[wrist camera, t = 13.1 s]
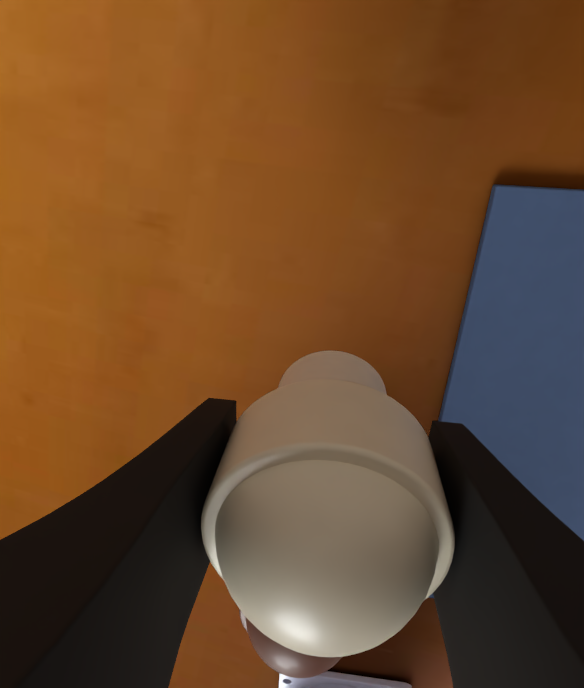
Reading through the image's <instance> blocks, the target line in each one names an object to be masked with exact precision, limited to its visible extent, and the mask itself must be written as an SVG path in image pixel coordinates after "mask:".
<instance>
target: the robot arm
mask: <svg viewBox="0 0 584 688" xmlns="http://www.w3.org/2000/svg"><path fill="white" fill-rule="evenodd" d="M235 424H236V401H234V400H224V399H214V398H208V399H207V400H206V401H204V402H203V403H202V404H201V405H199V406H198V407H197V408H196V409H195V410H193V411H192V412H191V413H190V414H189V415H187V416H186V417H185V418H184V419H183V420H181V421H180V422H179V423H178V424H177V425H175V426H174V427H173V428H172V429H171V430H169V431H168V432H167V433H166V434H164V435H163V436H162V437H161V438H159V439H158V440H157V441H156V442H154V443H153V444H152V445H150V446H149V447H148V448H147V449H145V450H144V451H143V452H142V453H140V454H139V455H138V456H136V457H135V458H133V459H132V460H131V461H129V462H128V463H127V464H125V465H124V466H122V467H121V468H120V469H118V470H117V471H115V472H114V473H113V474H111V475H110V476H108V477H107V478H106V479H104V480H103V481H101V482H100V483H98V484H97V485H95V486H94V487H92V488H91V489H89V490H87V491H86V492H84V493H83V494H81V495H80V496H78V497H76V498H75V499H73V500H71V501H70V502H68V503H66V504H65V505H63V506H61V507H60V508H58V509H56V510H55V511H53V512H51V513H50V514H48V515H46V516H44V517H43V518H41V519H39V520H37V521H35V522H34V523H32V524H30V525H28V526H26V527H24V528H22V529H20V530H18V531H16V532H15V533H13V534H11V535H9V536H7V537H5V538H3V539H1V540H0V688H168V686H169V683H170V679H171V675H172V672H173V668H174V665H175V661H176V657H177V654H178V650H179V646H180V643H181V640H182V637H183V634H184V631H185V628H186V625H187V622H188V619H189V616H190V613H191V611H192V608H193V605H194V603H195V600H196V597H197V595H198V592H199V589H200V587H201V584H202V581H203V579H204V576H205V573H206V571H207V568H208V565H209V562H210V559H209V557H208V555H207V553H206V550H205V547H204V544H203V539H202V532H201V515H202V510H203V506H204V503H205V500H206V497H207V495H208V492H209V489H210V487H211V484H212V482H213V479H214V476H215V474H216V471H217V468H218V466H219V463H220V461H221V458H222V455H223V453H224V450H225V448H226V445H227V442H228V440H229V437H230V435H231V432H232V430H233V427H234V426H235ZM428 439H429V441H430V444H431V447H432V450H433V453H434V457H435V461H436V464H437V468H438V471H439V475H440V478H441V482H442V486H443V489H444V493H445V496H446V500H447V504H448V507H449V511H450V514H451V518H452V521H453V527H454V532H455V549H454V554H453V559H452V563H451V565H450V568H449V570H448V573H447V575H446V576H445V578H444V580H443V581H442V583H441V584H440V585H439V586H438V588H437V589H436V590H435V591H434V592H433V596H434V600H435V604H436V608H437V613H438V617H439V621H440V626H441V630H442V634H443V638H444V643H445V647H446V651H447V656H448V661H449V666H450V671H451V676H452V681H453V687H454V688H584V541H583V540H582V539H581V538H580V537H579V536H578V535H577V534H576V533H574V532H573V531H572V530H571V529H570V528H569V527H568V526H567V525H565V524H564V523H563V522H562V521H561V520H560V519H559V518H558V517H556V516H555V515H554V514H553V513H552V512H551V511H550V510H549V509H548V508H547V507H546V506H545V505H543V504H542V503H541V502H540V501H539V500H538V499H537V498H536V497H535V496H534V495H533V494H532V493H531V492H530V491H529V490H528V489H527V488H526V487H525V486H524V485H523V484H522V483H521V482H520V481H519V480H518V479H517V478H516V477H515V476H514V475H513V474H512V473H511V472H510V471H509V470H508V469H507V468H506V467H505V466H504V465H503V464H502V463H501V462H500V461H499V460H498V459H497V458H496V457H495V456H494V455H493V454H492V453H491V452H490V451H489V450H488V449H487V448H486V447H485V446H484V445H483V444H482V443H481V442H480V441H479V440H478V439H477V438H476V436H475V435H474V434H473V433H472V432H471V431H470V430H469V429H468V428H466V427H465V426H464V425H463V424H462V423H452V422H442V421H432V425H431V430H430V434H429V438H428ZM279 688H412V686H411V685H410V684H408V683H405V682H399V681H392V680H386V679H379V678H372V677H365V676H358V675H351V674H345V673H338V672H331V671H326V672H324V673H322V674H320V675H317V676H314V677H310V678H293V677H289V676H285V675H283V674H279Z"/></svg>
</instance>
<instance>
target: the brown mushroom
mask: <svg viewBox="0 0 584 688" xmlns="http://www.w3.org/2000/svg"><path fill="white" fill-rule="evenodd" d="M239 613H240V619H241V622H242V624H243V626H244V628H245V629H246V631H247V632H248V634H249V638H250V640H251V642H252V645H253V647H254V649H255V650H256V652H257V653H258V655H259V656H260V658H261V659H262V660H263V661H264V662H265V663H266V664H267V665H268V666H269V667H271V668H272V669H274V670H275V671H277V672H278V673H280V674H283V675H285V676H289V677H293V678H310V677H314V676H317V675H320V674H322V673H324V672H326V671H327V670H329V669H330V668H332V667H333V666H334V665H335V664H336V663H337V662H338V661H339V660H340V659H341V658H342V657H318V656H311V655H306V654H303V653H299V652H296V651H293V650H291V649H288V648H286V647H284V646H282V645H281V644H279V643H277V642H275V641H273V640H272V639H270V638H269V637H267V636H266V635H264V634H263V633H262V632H261V631H260V630H258V629H257V628H256V627H255V626H254V625H253V624H252V623H251V622H250V621H249V620H248V619H247V618H246V617H245V615H244V614H243V613H242V611H241V610H240V609H239Z"/></svg>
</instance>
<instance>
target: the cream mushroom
mask: <svg viewBox="0 0 584 688" xmlns="http://www.w3.org/2000/svg"><path fill="white" fill-rule="evenodd" d="M201 532H202V539H203V544H204V547H205V550H206V553H207V555H208V557H209V559H210V561H211V563H212V565H213V567H214V568H215V569H216V571H217V572H218V574H219V575H220V576H221V577H222V578H223V580H224V581H225V584H226V586H227V588H228V590H229V592H230V594H231V596H232V598H233V600H234V601H235V603H236V604H237V606H238V607H239V609H240V610H241V611H242V613H243V614H244V615H245V617H246V618H247V619H248V620H249V621H250V622H251V623H252V624H253V625H254V626H255V627H256V628H257V629H258V630H260V631H261V632H262V633H263V634H264V635H266V636H267V637H269V638H270V639H272V640H273V641H275V642H277V643H279V644H281V645H282V646H284V647H286V648H288V649H291V650H293V651H296V652H299V653H303V654H306V655H311V656H318V657H343V656H349V655H353V654H357V653H361V652H364V651H367V650H370V649H372V648H374V647H376V646H378V645H380V644H382V643H383V642H385V641H386V640H388V639H389V638H391V637H392V636H394V635H395V634H396V633H398V632H399V631H400V630H401V629H402V628H403V627H404V626H405V625H406V624H407V623H408V622H409V621H410V619H411V618H412V617H413V616H414V615H415V614H416V612H417V610H418V609H419V607H420V605H421V604H422V602H423V601H424V600H425V599H426V598H428V597H429V596H430V595H431V594H432V593H433V592H434V591H435V590H436V589H437V588H438V586H439V585H440V584H441V583H442V581H443V580H444V578H445V576H446V575H447V573H448V570H449V568H450V565H451V563H452V559H453V554H454V549H455V532H454V527H453V521H452V518H451V514H450V511H449V507H448V504H447V500H446V496H445V493H444V489H443V486H442V482H441V478H440V475H439V471H438V468H437V464H436V461H435V457H434V453H433V450H432V447H431V444H430V441H429V439H428V436H427V434H426V433H425V431H424V429H423V427H422V426H421V425H420V423H419V422H418V421H417V419H416V418H415V417H414V416H413V415H412V414H411V413H410V412H409V411H408V410H407V409H406V408H405V407H404V406H402V405H401V404H399V403H398V402H397V401H395V400H394V399H393V398H391V397H389V396H387V394H386V389H385V385H384V383H383V380H382V379H381V377H380V375H379V374H378V373H377V371H376V370H375V369H374V368H373V367H372V366H371V365H370V364H368V363H367V362H366V361H364V360H363V359H361V358H359V357H357V356H355V355H352V354H350V353H346V352H341V351H320V352H315V353H312V354H309V355H306V356H304V357H302V358H300V359H299V360H297V361H296V362H294V363H293V364H292V365H291V366H290V367H289V368H288V369H287V370H286V372H285V373H284V375H283V376H282V378H281V380H280V383H279V387H278V389H276V390H273V391H271V392H269V393H267V394H266V395H264V396H263V397H261V398H260V399H258V400H257V401H255V402H254V403H253V404H252V405H251V406H250V407H248V408H247V409H246V411H245V412H244V413H243V414H242V415H241V416H240V418H239V419H238V421H237V422H236V424H235V426H234V427H233V430H232V432H231V435H230V437H229V440H228V442H227V445H226V448H225V450H224V453H223V455H222V458H221V461H220V463H219V466H218V468H217V471H216V474H215V476H214V479H213V482H212V484H211V487H210V489H209V492H208V495H207V497H206V500H205V503H204V506H203V510H202V515H201Z"/></svg>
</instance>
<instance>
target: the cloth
mask: <svg viewBox="0 0 584 688" xmlns="http://www.w3.org/2000/svg"><path fill="white" fill-rule="evenodd" d="M438 421H442V422H452V423H462V424H463V425H464V426H465V427H466V428H468V429H469V430H470V431H471V432H472V433H473V434H474V435H475V436H476V438H477V439H478V440H479V441H480V442H481V443H482V444H483V445H484V446H485V447H486V448H487V449H488V450H489V451H490V452H491V453H492V454H493V455H494V456H495V457H496V458H497V459H498V460H499V461H500V462H501V463H502V464H503V465H504V466H505V467H506V468H507V469H508V470H509V471H510V472H511V473H512V474H513V475H514V476H515V477H516V478H517V479H518V480H519V481H520V482H521V483H522V484H523V485H524V486H525V487H526V488H527V489H528V490H529V491H530V492H531V493H532V494H533V495H534V496H535V497H536V498H537V499H538V500H539V501H540V502H541V503H542V504H543V505H545V506H546V507H547V508H548V509H549V510H550V511H551V512H552V513H553V514H554V515H555V516H556V517H558V518H559V519H560V520H561V521H562V522H563V523H564V524H565V525H567V526H568V527H569V528H570V529H571V530H572V531H573V532H574V533H576V534H577V535H578V536H579V537H580V538H581V539H582V540H583V541H584V190H583V189H565V188H548V187H531V186H514V185H497V184H494V185H493V186H492V191H491V195H490V199H489V204H488V208H487V212H486V217H485V221H484V225H483V230H482V234H481V238H480V242H479V247H478V251H477V255H476V260H475V264H474V268H473V273H472V277H471V281H470V286H469V290H468V294H467V299H466V303H465V307H464V312H463V316H462V320H461V325H460V329H459V333H458V338H457V342H456V346H455V351H454V355H453V359H452V363H451V368H450V372H449V376H448V381H447V385H446V389H445V394H444V398H443V402H442V407H441V411H440V415H439V420H438ZM429 598H434V596H433V593H432V594H431V595H430V596H429Z"/></svg>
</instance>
